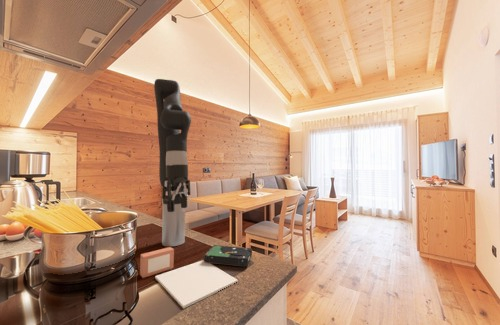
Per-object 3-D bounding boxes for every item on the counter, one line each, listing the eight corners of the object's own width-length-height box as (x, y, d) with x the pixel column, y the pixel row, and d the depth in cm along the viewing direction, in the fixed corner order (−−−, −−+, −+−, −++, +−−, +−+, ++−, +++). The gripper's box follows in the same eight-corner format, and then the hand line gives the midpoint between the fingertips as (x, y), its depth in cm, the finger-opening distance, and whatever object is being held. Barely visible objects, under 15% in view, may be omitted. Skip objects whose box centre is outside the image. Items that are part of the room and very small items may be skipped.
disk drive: (252, 255, 74) (213, 252, 77) (252, 248, 75) (213, 244, 77) (247, 268, 64) (203, 263, 66) (248, 258, 64) (203, 254, 67)
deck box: (142, 278, 58) (143, 257, 59) (139, 274, 60) (140, 254, 61) (173, 268, 64) (174, 249, 65) (169, 265, 67) (170, 246, 67)
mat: (155, 278, 58) (155, 276, 58) (203, 261, 69) (203, 259, 69) (183, 308, 45) (183, 305, 45) (237, 282, 56) (237, 280, 56)
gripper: (178, 165, 81) (179, 206, 80) (154, 163, 67) (155, 213, 66) (195, 164, 79) (196, 206, 78) (175, 162, 66) (176, 213, 64)
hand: (177, 209), depth 72 cm, fingers open, 8 cm apart
